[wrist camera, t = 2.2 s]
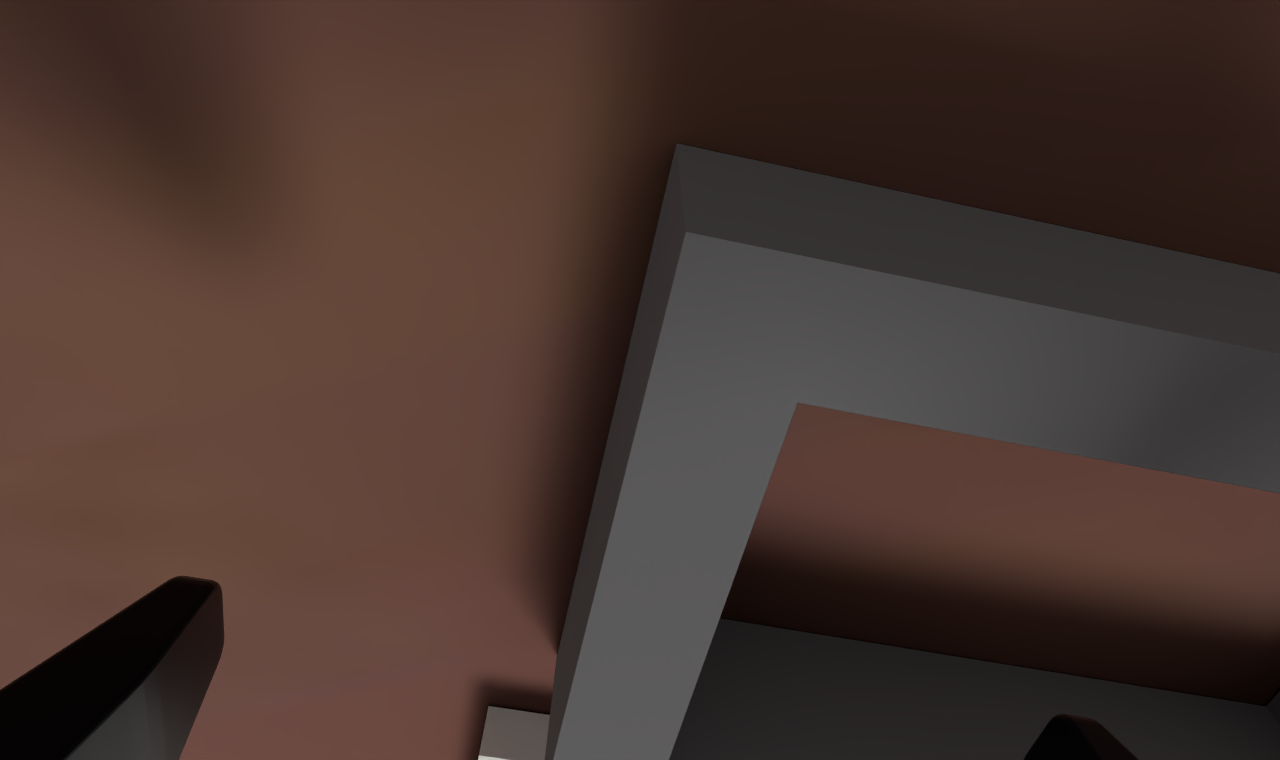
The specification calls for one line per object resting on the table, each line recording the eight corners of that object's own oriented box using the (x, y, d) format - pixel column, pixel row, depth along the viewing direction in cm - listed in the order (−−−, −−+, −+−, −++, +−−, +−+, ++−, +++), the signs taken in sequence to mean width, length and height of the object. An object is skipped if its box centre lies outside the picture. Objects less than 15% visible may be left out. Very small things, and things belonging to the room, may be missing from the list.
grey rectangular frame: (556, 656, 15) (536, 824, 12) (675, 143, 10) (684, 231, 8) (1292, 769, 16) (1417, 942, 13) (1683, 360, 12) (1984, 499, 9)
